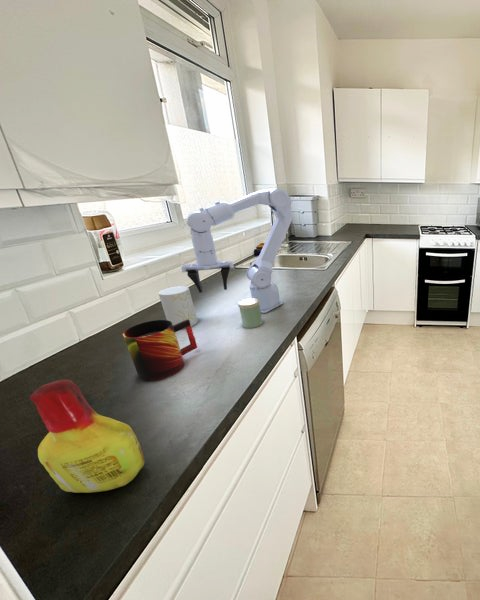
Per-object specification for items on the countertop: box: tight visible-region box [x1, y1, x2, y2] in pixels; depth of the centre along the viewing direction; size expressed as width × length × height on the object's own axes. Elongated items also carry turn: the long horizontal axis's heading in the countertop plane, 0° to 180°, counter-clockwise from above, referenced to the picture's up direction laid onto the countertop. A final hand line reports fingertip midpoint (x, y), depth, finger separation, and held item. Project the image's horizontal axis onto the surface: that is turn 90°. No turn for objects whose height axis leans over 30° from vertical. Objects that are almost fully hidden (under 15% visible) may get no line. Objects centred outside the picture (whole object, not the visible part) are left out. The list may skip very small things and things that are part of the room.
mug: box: [122, 319, 198, 382], centre depth 80 cm, size 10×14×12 cm
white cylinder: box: [158, 285, 199, 327], centre depth 103 cm, size 8×8×12 cm
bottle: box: [29, 379, 145, 494], centre depth 47 cm, size 12×6×20 cm, turn 100°
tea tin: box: [237, 297, 264, 329], centre depth 103 cm, size 6×6×8 cm
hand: (213, 290), depth 105 cm, fingers open, 7 cm apart
